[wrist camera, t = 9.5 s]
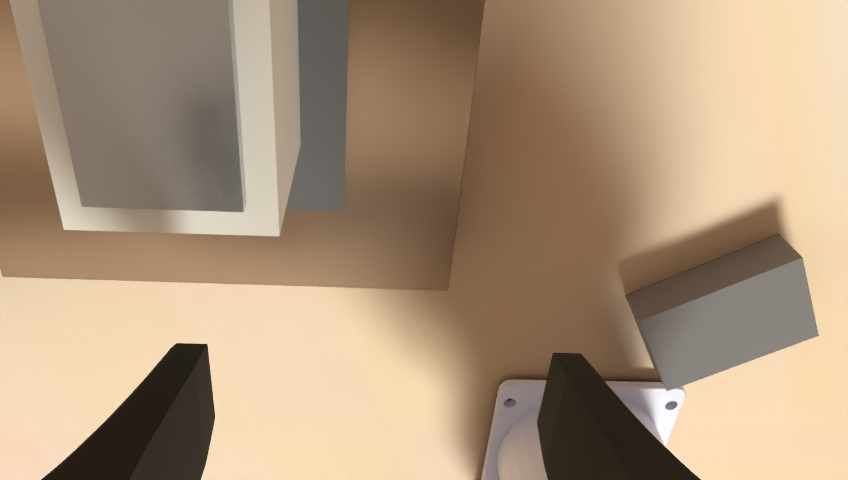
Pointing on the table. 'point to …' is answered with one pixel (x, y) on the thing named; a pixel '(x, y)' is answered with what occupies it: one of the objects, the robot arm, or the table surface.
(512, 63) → the table surface
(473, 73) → the stand
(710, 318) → the block
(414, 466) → the table surface
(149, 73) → the housing
